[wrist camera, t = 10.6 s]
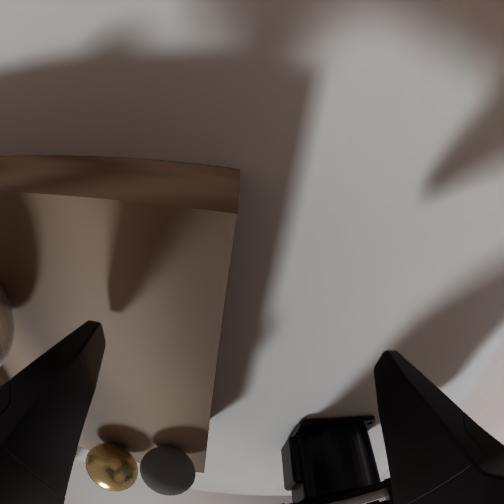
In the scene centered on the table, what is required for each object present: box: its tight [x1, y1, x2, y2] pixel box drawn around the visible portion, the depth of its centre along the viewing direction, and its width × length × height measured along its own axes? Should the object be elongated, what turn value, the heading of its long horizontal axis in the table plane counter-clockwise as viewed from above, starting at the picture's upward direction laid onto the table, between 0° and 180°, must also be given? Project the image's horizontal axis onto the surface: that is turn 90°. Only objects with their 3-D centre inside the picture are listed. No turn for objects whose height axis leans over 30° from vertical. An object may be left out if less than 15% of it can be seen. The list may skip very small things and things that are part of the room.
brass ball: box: [86, 443, 138, 491], centre depth 13 cm, size 3×3×3 cm
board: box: [0, 156, 240, 473], centre depth 13 cm, size 20×18×4 cm
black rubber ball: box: [140, 446, 195, 495], centre depth 13 cm, size 3×3×3 cm
